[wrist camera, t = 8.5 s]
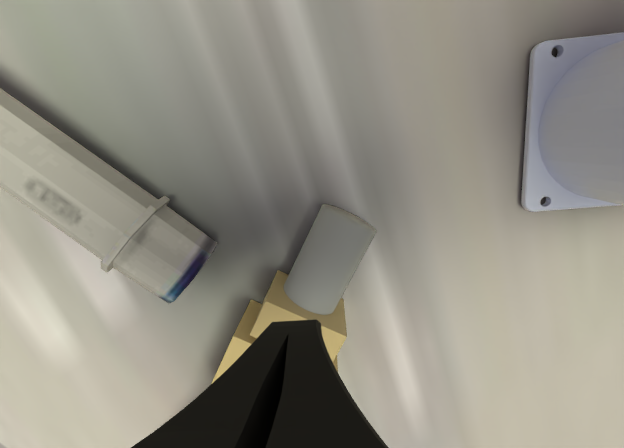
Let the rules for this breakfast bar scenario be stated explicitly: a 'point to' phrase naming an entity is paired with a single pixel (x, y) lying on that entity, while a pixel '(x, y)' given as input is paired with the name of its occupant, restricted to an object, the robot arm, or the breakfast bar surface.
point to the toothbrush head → (97, 204)
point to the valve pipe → (310, 284)
